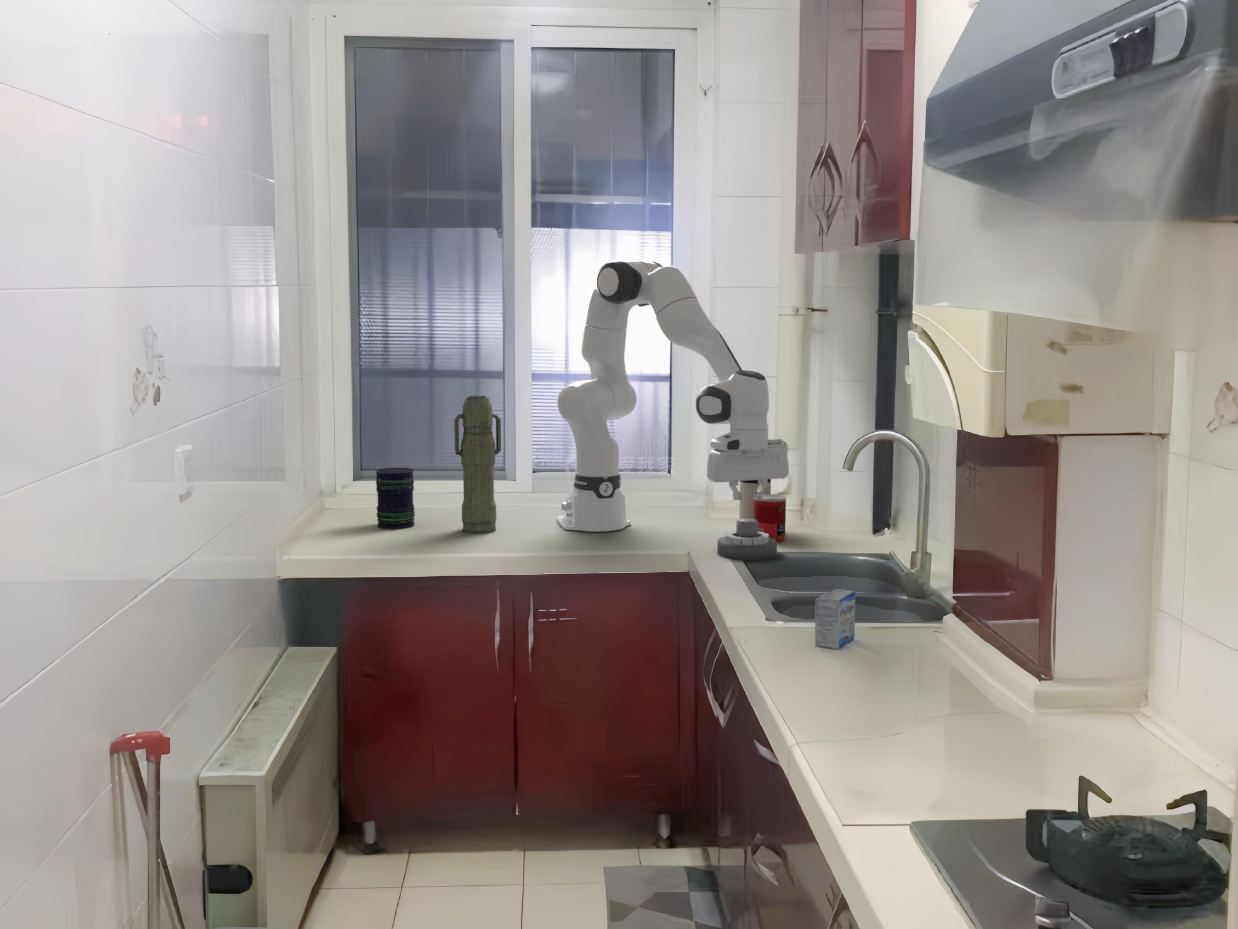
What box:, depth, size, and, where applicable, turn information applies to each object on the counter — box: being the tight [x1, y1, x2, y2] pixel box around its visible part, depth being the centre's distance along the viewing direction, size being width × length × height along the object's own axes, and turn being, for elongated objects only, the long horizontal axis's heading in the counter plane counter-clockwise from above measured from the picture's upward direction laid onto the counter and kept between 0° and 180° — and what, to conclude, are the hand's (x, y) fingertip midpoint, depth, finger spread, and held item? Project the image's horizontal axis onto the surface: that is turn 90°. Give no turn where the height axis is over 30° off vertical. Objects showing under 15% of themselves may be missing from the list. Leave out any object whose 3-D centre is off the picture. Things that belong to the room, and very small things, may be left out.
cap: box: [735, 519, 759, 538], centre depth 266 cm, size 5×5×5 cm
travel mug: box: [738, 479, 772, 520], centre depth 292 cm, size 8×8×18 cm
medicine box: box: [814, 588, 856, 651], centre depth 195 cm, size 8×4×9 cm, turn 148°
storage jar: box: [375, 467, 415, 530], centre depth 299 cm, size 10×10×15 cm
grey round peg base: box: [716, 530, 778, 561], centre depth 267 cm, size 14×14×4 cm
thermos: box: [453, 395, 502, 534], centre depth 292 cm, size 9×12×35 cm
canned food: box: [754, 493, 787, 543], centre depth 282 cm, size 8×8×11 cm
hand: (747, 499), depth 265 cm, fingers open, 4 cm apart
